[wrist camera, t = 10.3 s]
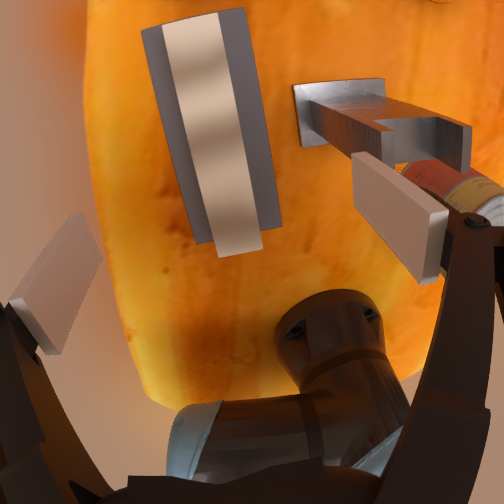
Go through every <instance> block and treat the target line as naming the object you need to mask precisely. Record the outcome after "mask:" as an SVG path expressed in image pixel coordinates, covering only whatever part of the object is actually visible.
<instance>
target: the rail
mask: <svg viewBox="0 0 504 504" xmlns="http://www.w3.org/2000/svg"><path fill="white" fill-rule="evenodd" d="M162 29H163V34H164V39H165V43H166V48H167V53H168V57H169V62H170V66H171V71H172V75H173V79H174V84H175V88H176V92H177V97H178V101H179V105H180V109H181V114H182V118H183V122H184V126H185V130H186V134H187V138H188V143H189V147H190V151H191V155H192V159H193V163H194V167H195V170H196V174H197V178H198V182H199V186H200V190H201V194H202V198H203V201H204V205H205V209H206V213H207V217H208V220H209V224H210V228H211V231H212V235H213V239H214V243H215V246H216V250H217V253H218V257H219V258H222V257H227V256H232V255H237V254H242V253H247V252H251V251H256V250H261V249H263V245H262V239H261V234H260V228H259V223H258V218H257V212H256V207H255V202H254V196H253V191H252V186H251V180H250V175H249V170H248V165H247V159H246V154H245V149H244V144H243V139H242V133H241V128H240V123H239V118H238V113H237V108H236V103H235V98H234V92H233V87H232V82H231V77H230V72H229V67H228V62H227V57H226V52H225V47H224V43H223V38H222V33H221V28H220V23H219V18H218V13H212V14H207V15H202V16H197V17H193V18H188V19H184V20H180V21H176V22H172V23H168V24H165V25H162Z"/></svg>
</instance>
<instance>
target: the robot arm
mask: <svg viewBox="0 0 504 504" xmlns="http://www.w3.org/2000/svg"><path fill="white" fill-rule="evenodd" d="M351 160H352V177H353V199H354V207H355V208H356V209H357V210H358V211H359V212H360V214H361V215H362V216H363V217H364V218H365V219H366V220H367V221H368V223H369V224H370V225H371V226H372V227H373V228H374V229H375V231H376V232H377V233H378V234H379V235H380V237H381V238H382V239H383V240H384V241H385V242H386V244H387V245H388V246H389V247H390V248H391V250H392V251H393V252H394V253H395V254H396V256H397V257H398V258H399V259H400V261H401V262H402V263H403V264H404V266H405V267H406V268H407V269H408V271H409V272H410V273H411V274H412V276H413V277H414V278H415V279H416V281H417V282H418V283H419V285H420V286H421V285H425V284H428V283H432V282H435V281H438V277H439V272H440V267H442V268H443V269H444V270H445V271H446V272H447V274H446V278H445V283H444V287H443V292H442V296H441V303H440V308H439V312H438V317H437V321H436V325H435V329H434V333H433V337H432V341H431V344H430V348H429V351H428V355H427V358H426V362H425V365H424V368H423V372H422V375H421V378H420V381H419V384H418V387H417V390H416V393H415V396H414V399H413V402H412V404H411V406H410V404H409V402H408V400H407V398H406V396H405V393H404V391H403V389H402V387H401V385H400V383H399V381H398V379H397V377H396V375H395V372H394V370H393V368H392V366H391V364H390V362H389V360H388V358H387V356H386V350H385V339H384V329H383V321H382V317H381V315H380V313H379V311H378V309H377V307H376V306H375V304H374V302H373V301H372V300H371V299H370V298H369V297H368V296H366V295H364V294H362V293H360V292H357V291H352V290H333V291H328V292H324V293H320V294H317V295H315V296H312V297H310V298H308V299H306V300H304V301H302V302H301V303H299V304H298V305H296V306H295V307H294V308H292V309H291V310H290V311H289V312H288V313H287V314H286V315H285V316H284V317H283V319H282V320H281V321H280V323H279V325H278V327H277V329H276V332H275V338H274V341H275V347H276V352H277V356H278V358H279V361H280V363H281V364H282V365H283V367H284V368H285V370H286V371H287V373H288V374H289V375H290V377H291V378H292V380H293V381H294V382H295V384H296V385H297V387H298V388H299V391H300V394H296V395H286V396H278V397H269V398H260V399H249V400H237V401H224V400H219V401H217V402H213V403H203V404H192V405H188V406H186V407H184V408H182V409H181V410H180V411H179V413H178V414H177V416H176V417H175V420H174V422H173V425H172V429H171V433H170V438H169V443H168V450H167V462H166V476H128V484H127V487H125V488H122V489H119V490H117V491H114V490H113V489H112V488H111V487H110V486H109V485H108V484H107V482H106V481H105V479H104V478H103V476H102V475H101V474H100V472H99V471H98V469H97V467H96V466H95V464H94V463H93V461H92V460H91V458H90V456H89V455H88V453H87V451H86V450H85V448H84V446H83V444H82V443H81V441H80V439H79V438H78V436H77V434H76V432H75V430H74V429H73V427H72V425H71V423H70V421H69V419H68V418H67V416H66V414H65V412H64V410H63V408H62V406H61V404H60V401H59V399H58V398H57V395H56V393H55V391H54V389H53V387H52V385H51V382H50V380H49V378H48V375H47V374H46V371H45V369H44V366H43V364H42V361H41V359H40V357H39V356H38V355H37V354H36V353H35V351H36V349H37V346H38V345H39V346H40V348H41V349H42V350H43V352H44V353H45V354H46V355H58V354H61V353H62V350H63V347H64V344H65V342H66V340H67V337H68V334H69V332H70V329H71V327H72V324H73V322H74V320H75V317H76V315H77V313H78V310H79V308H80V306H81V303H82V301H83V299H84V297H85V294H86V292H87V290H88V288H89V286H90V283H91V281H92V279H93V277H94V275H95V273H96V271H97V269H98V266H99V264H100V262H101V260H102V257H101V255H100V252H99V250H98V248H97V245H96V243H95V241H94V239H93V236H92V234H91V232H90V229H89V227H88V224H87V222H86V220H85V217H84V215H83V212H81V213H78V214H75V215H72V216H70V217H69V218H68V219H67V220H66V222H65V223H64V224H63V225H62V227H61V228H60V229H59V230H58V231H57V233H56V234H55V235H54V237H53V238H52V239H51V241H50V242H49V243H48V244H47V246H46V247H45V248H44V250H43V251H42V252H41V254H40V255H39V256H38V258H37V259H36V261H35V262H34V263H33V265H32V266H31V268H30V269H29V270H28V272H27V273H26V275H25V276H24V278H23V279H22V280H21V282H20V283H19V285H18V287H17V288H16V289H15V291H14V293H13V294H12V296H11V297H10V299H9V302H8V304H7V306H6V307H5V309H4V307H3V306H2V304H1V303H0V504H468V501H469V498H470V496H471V492H472V490H473V486H474V483H475V480H476V477H477V474H478V470H479V467H480V463H481V459H482V456H483V452H484V448H485V443H486V439H487V435H488V430H489V425H490V417H491V413H490V409H487V408H485V399H486V393H487V386H488V380H489V372H490V364H491V355H492V344H493V330H494V309H495V294H496V297H497V301H498V304H499V308H500V312H501V315H502V319H503V323H504V226H492V225H491V223H490V221H489V220H488V219H487V218H486V217H484V216H482V215H479V214H476V213H470V212H465V213H460V212H459V211H458V210H456V209H455V208H454V207H452V206H451V205H450V204H448V203H447V202H445V201H444V200H443V199H442V198H439V196H438V195H436V194H435V193H433V192H432V191H430V190H427V189H425V188H422V187H418V186H416V185H415V184H413V183H412V182H411V181H409V180H408V179H406V178H405V177H404V176H402V175H401V174H399V173H398V172H396V171H395V170H393V169H392V168H390V167H389V166H387V165H386V164H384V163H383V162H381V161H380V160H378V159H377V158H375V157H374V156H372V155H370V154H369V153H367V152H366V151H365V152H357V153H351Z"/></svg>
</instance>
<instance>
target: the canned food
mask: <svg viewBox="0 0 504 504" xmlns="http://www.w3.org/2000/svg"><path fill="white" fill-rule="evenodd" d="M401 175H402V176H404V177H405V178H406V179H408V180H409V181H411V182H412V183H413V184H415V185H416V186H418V187H422V188H425V189H427V190H430V191H432V192H433V193H435V194H436V195H438V196H439V198H442V199H443V200H444V201H445V202H447V203H448V204H450V205H451V206H452V207H454V208H455V209H456V210H458V211H459V212H460V213H465V212H470V213H476V214H479V215H482V216H484V217H486V218H487V219H488V220H489V221H490V223H491V225H492V226H504V188H503V187H502V186H500V185H499V184H497V183H495V182H494V181H492V180H491V179H489V178H488V177H486V176H484V175H483V174H481V173H479V172H478V171H476V170H474V169H473V168H471V167H470V172H468V173H459V172H458V171H456V170H454V169H453V168H451V167H449V166H448V165H446V164H444V163H443V162H441V161H439V160H437V159H431V160H422V161H413V162H410V163H409V164H408V165H407V166H406V167H405V169H404V170H403V171H402V173H401ZM440 273H441V275H442V276H443V277H444V278H446V274H447V272H446V271H445V270H444V269H443V268H442V267H440Z"/></svg>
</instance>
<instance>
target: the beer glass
mask: <svg viewBox="0 0 504 504" xmlns="http://www.w3.org/2000/svg"><path fill="white" fill-rule="evenodd" d="M431 1H434V2H437V3H445V2H449V1H451V0H431ZM485 1H490V2H496V3H503V4H504V0H485Z"/></svg>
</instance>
